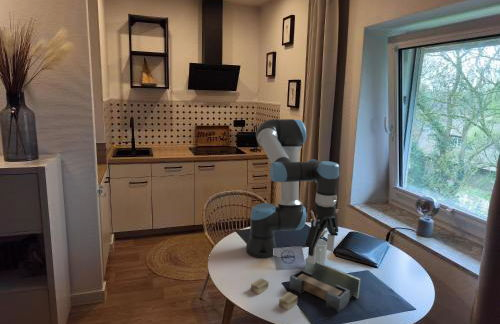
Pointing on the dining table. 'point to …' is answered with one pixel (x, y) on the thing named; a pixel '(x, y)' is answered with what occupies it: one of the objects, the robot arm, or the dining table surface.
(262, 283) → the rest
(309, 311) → the dining table surface
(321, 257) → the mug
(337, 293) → the rail
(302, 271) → the bracket
